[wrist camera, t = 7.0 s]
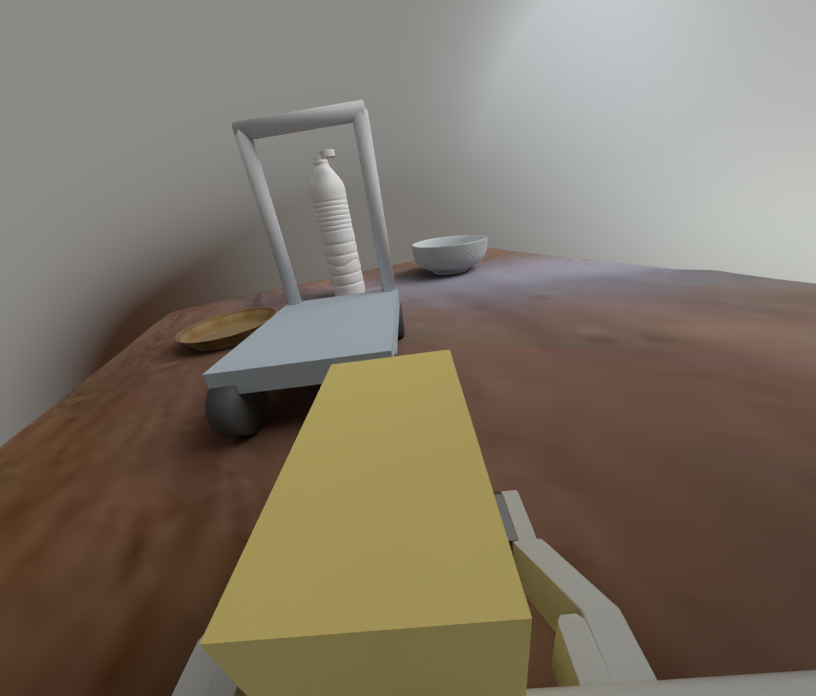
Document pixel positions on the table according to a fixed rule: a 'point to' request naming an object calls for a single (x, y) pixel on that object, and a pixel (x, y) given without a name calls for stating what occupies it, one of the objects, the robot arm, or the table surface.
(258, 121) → the trolley
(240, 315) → the plant saucer
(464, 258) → the cereal bowl
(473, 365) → the table surface
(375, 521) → the yellow rectangular block
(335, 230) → the water bottle
